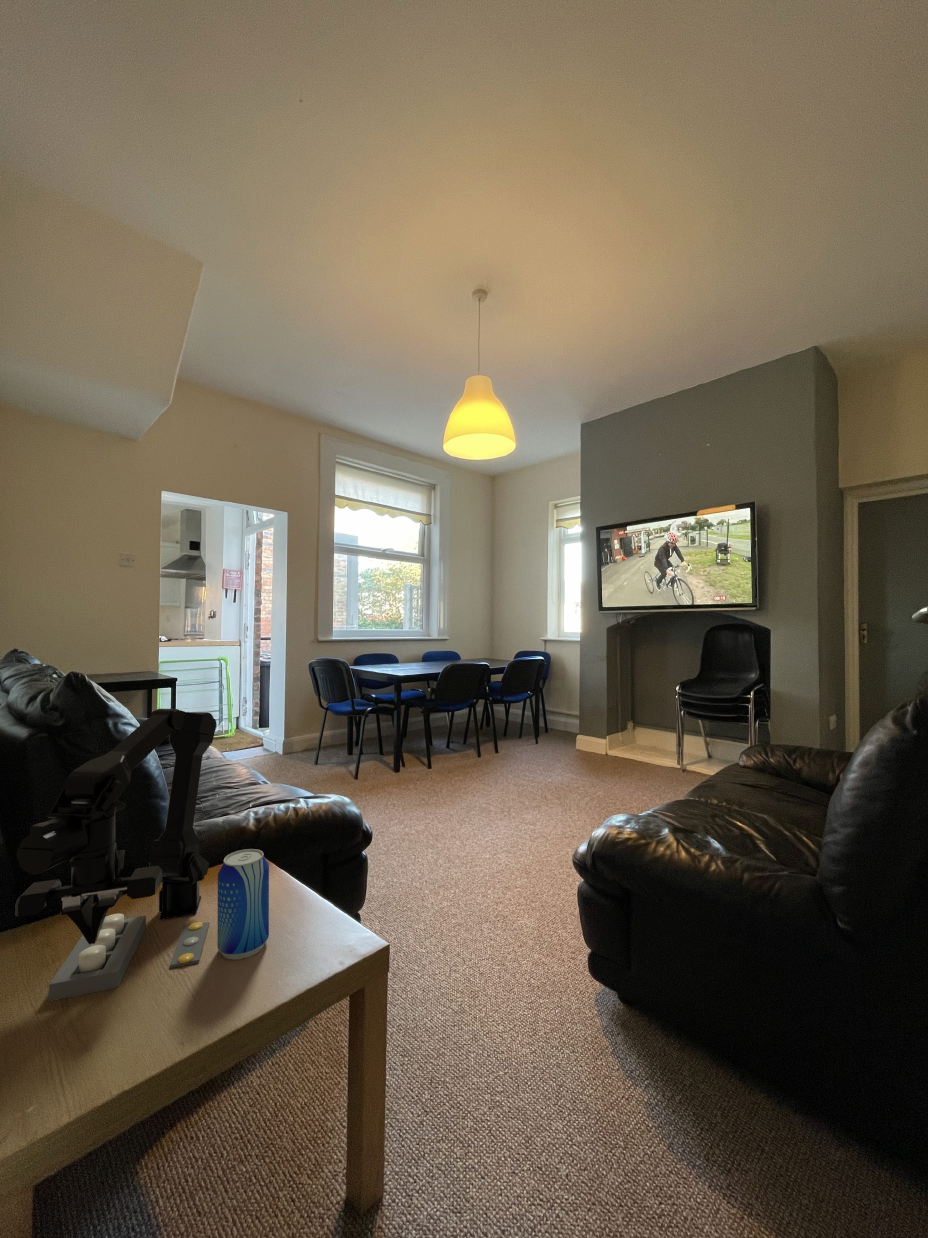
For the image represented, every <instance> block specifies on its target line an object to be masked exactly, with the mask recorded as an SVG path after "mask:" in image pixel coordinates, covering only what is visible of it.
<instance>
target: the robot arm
mask: <svg viewBox="0 0 928 1238" xmlns="http://www.w3.org/2000/svg"><path fill="white" fill-rule="evenodd" d="M216 729H217V720H216V719H215V718H214V715H213V714H212V713H211V712H201V711H197V712H196V711H187V712H186V711H183V710H179V708H157V709H154V710H152V711H151V713H150V714H149V717H148V718H146V720H144V721H143V722H142V723H141V724H139V726H137V727H136V728H135V729H134V730H133V731H132V732H131V733H129V734H128V735H127V736H126V737H125V738H124V739H123V740H121V741H120V742H119V743H118V744H117V745H116V746H115V747H114V748H112V749H111V750H110V751H109V752H107V753H105V754H103V755H101V756H98V757H96V758H93V759H91V760H90V759H89V760H88V761H86V762H85V763H83V764H81V765H80V766H78V767H77V768H75V769H73V770H72V771H71V773H69V774H68V775H67V777H66V779H65V783H64V784H63V786H62V788H61V790H60V792H59V793H58V795H57V797H56V799H55V800H54V802H53V804H52V806H51V808H50V809H49V811H48V813H47V815H46V818H47V819H49V820H47V821H44V822H39V823H35V824H33V825H31V826H30V828H29V830H30V831H29V833H30V834H29V835H27V836H26V837H25V836H24V838H23V839H22V840H21V842H20V843H19V847H18V849H17V850H16V859H17V863H18V864H19V866H20V868H21V869H22V870H23V871H24V872H26V873H27V874H29V875H33V876H34V875H35V876H36V875H40V874H42V873H45V872H46V871H48V870H51V869H52V868H54V867H57V866H58V865H61V864H63V863H64V862H67V861H68V860H69V861H68V868H69V869H70V868H71V884H70V885H64V886H62V882H61V880H60V879H59V878H58V879H51V880H44V881H35V882H33V883H32V884H31V885H30V886H28V888H27V889H26V890H24V892H23V893H22V894H20V896H19V897H18V898H17V899H16V902H15V904H14V908H15V909H14V917H17V918H19V917H25V916H32V915H38V914H40V913H41V912H42V911H43V909H45V907H46V906H47V903H49V902H57V901H62V908H61V910H60V912H59V914H60V916H68V918H69V919H70V920H71V921H72V922H73V923H74V924H75V925H76V927H77V928H78V929H79V931H80V932H81V935H83V936H84V937H85V939H86V941H87V942H88V944H95V942H96V941H97V938H98V936H99V933H100V930H101V927H102V924H103V922H104V919H105V917H107V913H108V911H109V910H110V908H113V907H115V906H116V904H117V903H118V901H119V900H120V898H121V897H122V895H123V893H124V891H125V892H126V897H128V898H130V899H131V900H137V899H141V898H142V899H143V898H148V897H152V896H155V895H156V893H157V891H158V889H159V887H160V885H161V883H162V885H161V888H160V889H159V892H158V913H160V915H159V920H166V919H170V918H178V917H182V916H183V917H184V916H191V915H195V914H197V912H198V909H199V906H200V903H201V900H202V896H201V895H200V882H201V881H203V880H205V877H206V875H207V874H208V872H209V867H210V862H209V861H208V860H206V859H205V858H204V857H203V856H202V855H200V839H199V838H198V836H197V834H196V832H195V829H194V821H195V816H196V815H195V814H196V808H197V807H196V805H197V801H198V800H197V799H198V792H199V787H200V786H199V785H200V784H199V783H200V778H201V777H200V776H201V769H202V762H203V761H202V760H203V756H204V754H205V753H206V751H207V750H208V749H209V747H210V746H211V745H212V743H213V741H214V737H215V733H216ZM168 736H169V738H168V740H169V744H170V747H171V748H172V750H173V752H174V756H175V757H174V758H175V759H174V766H173V774H172V778H171V786H170V792H169V802H168V807H167V815H166V820H165V827H164V831H163V832H162V833H161V834H160V835H159V838H157V839H153V840H152V842H151V843H150V853H149V858H148V860H147V863H148V865H149V866H145V867H139V868H138V867H137V868H135V869H134V871H133V873H132V874H131V876H129V877H128V876H127V877H118V878H115V877H116V876H118V875H120V873H121V870H123V869H124V864H125V863H124V860H125V852H126V850H125V849H122V850H118V845H117V842H116V813H117V812H118V811H121V810H123V809H125V808H126V803H124V802H122V801H120V800H118V798H119V797H120V796H121V794H123V792H124V791H125V790H126V788H127V787H128V786H129V784H130V783H131V776H132V773H133V771H134V770H135V769H136V768H137V766H138V765H139V764H141V763H142V761H144V760H145V759H146V758H147V757H148V756H149V755H150V754H151V753H152V752H154V750H155V749H156V748H157V747H158V746H159V745H160V744H162V742H164V741H165V739H166V738H167V737H168ZM72 804H77V805H72ZM78 804H79V805H78ZM81 804H82V805H83V806H80V805H81ZM84 805H93V806H84ZM96 895H97V898H98V899H97V900H96V902H95V903H94V897H95V896H96Z"/></svg>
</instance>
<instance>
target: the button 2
mask: <svg viewBox="0 0 928 1238" xmlns="http://www.w3.org/2000/svg"><path fill="white" fill-rule="evenodd" d="M124 919H125V915H124V914H123V913H114V914H110V915H106V916H105V919H104V922H103V924H102V927H101V930H103V929H109V928H111V929H115V936H116V935H120V934H121V933H122V932H123V931H124Z"/></svg>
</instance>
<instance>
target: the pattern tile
mask: <svg viewBox="0 0 928 1238" xmlns="http://www.w3.org/2000/svg"><path fill="white" fill-rule="evenodd" d="M209 928H210V921H207V922H201V921H197V922H193V923H191V924H189V925H184V926H183V927H182V930H181V932H180V936H179V938H178V941H177V944H176V946H175V950H174V953H173V956H172V958H171V961H170V963H169V969H172V968H177V967H183V966H187V965H193V964H198V963H200V961H201V959H202V958H201V957H202V953H203V950H204V946H205V942H206V938H207V934H208V930H209Z"/></svg>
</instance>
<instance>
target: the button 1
mask: <svg viewBox="0 0 928 1238" xmlns="http://www.w3.org/2000/svg"><path fill="white" fill-rule="evenodd" d="M105 963H106V947H105V946H104V945H95V946H92V947H89V948H87V949H85V950H83V951H82V952H81V953H80V954H79V973H86V972H91V971H96V970H100V969H101V968H103V967H104V966H105Z"/></svg>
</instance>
